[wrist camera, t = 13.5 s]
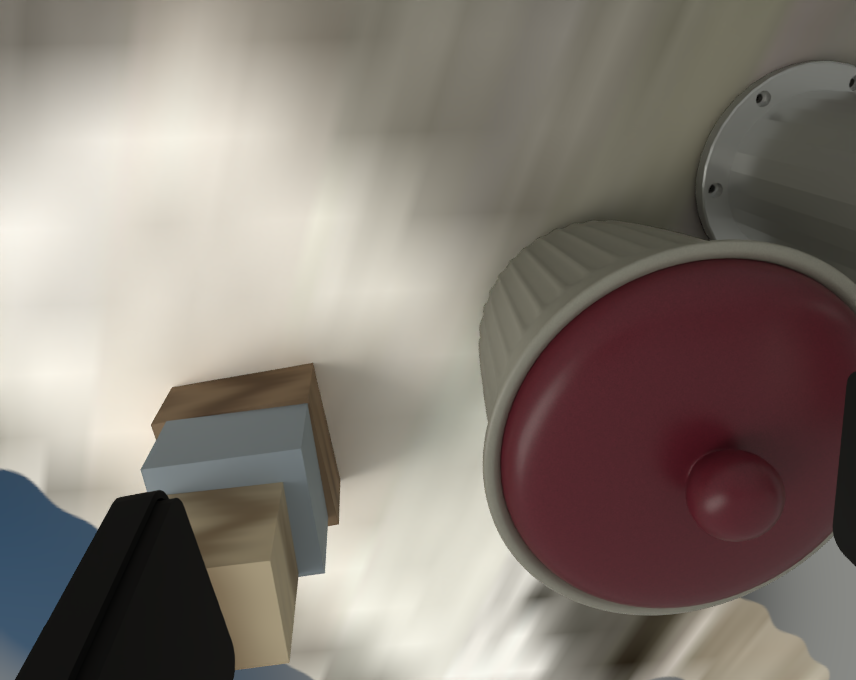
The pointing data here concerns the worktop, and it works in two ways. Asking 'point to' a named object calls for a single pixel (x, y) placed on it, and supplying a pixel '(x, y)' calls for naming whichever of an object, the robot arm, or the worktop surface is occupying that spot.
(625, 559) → the canister
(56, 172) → the worktop surface
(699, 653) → the worktop surface
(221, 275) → the worktop surface
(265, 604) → the oak cube
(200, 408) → the tower base
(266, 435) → the tower top
